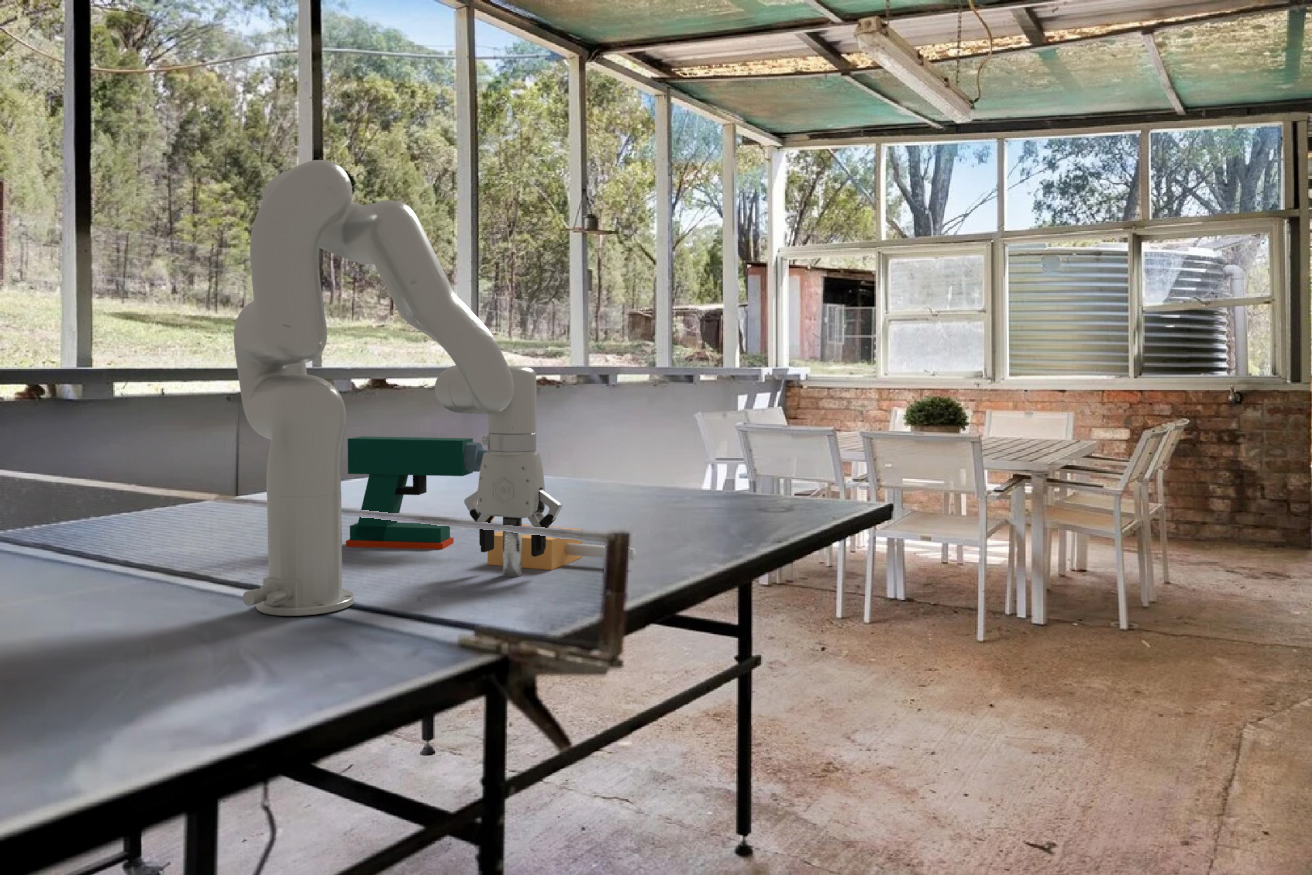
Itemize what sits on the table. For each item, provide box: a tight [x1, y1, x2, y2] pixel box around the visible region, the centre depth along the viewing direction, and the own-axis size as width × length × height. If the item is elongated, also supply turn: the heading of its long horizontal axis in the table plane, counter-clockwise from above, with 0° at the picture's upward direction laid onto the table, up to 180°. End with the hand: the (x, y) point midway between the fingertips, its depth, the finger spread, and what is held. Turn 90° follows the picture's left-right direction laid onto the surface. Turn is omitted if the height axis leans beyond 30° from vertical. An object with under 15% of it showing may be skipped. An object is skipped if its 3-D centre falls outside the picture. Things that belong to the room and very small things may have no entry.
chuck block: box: [487, 524, 636, 571], centre depth 163 cm, size 12×24×5 cm, turn 70°
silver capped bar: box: [502, 517, 523, 578], centre depth 153 cm, size 3×3×10 cm
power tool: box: [345, 435, 488, 550], centre depth 178 cm, size 32×7×20 cm, turn 84°
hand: (512, 552), depth 153 cm, fingers open, 8 cm apart
